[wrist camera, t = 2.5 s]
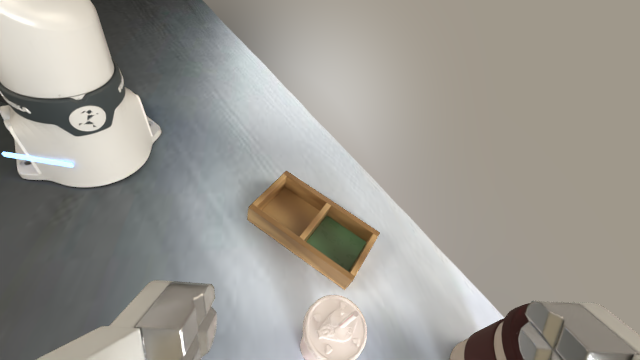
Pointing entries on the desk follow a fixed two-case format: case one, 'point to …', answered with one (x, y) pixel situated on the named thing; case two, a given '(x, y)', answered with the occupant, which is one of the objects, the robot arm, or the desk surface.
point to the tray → (313, 228)
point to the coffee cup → (494, 340)
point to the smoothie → (333, 330)
